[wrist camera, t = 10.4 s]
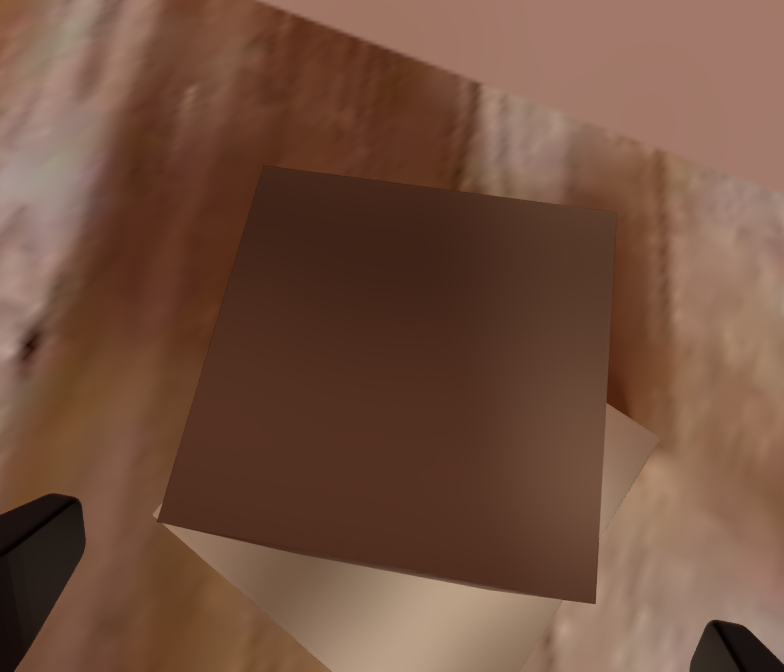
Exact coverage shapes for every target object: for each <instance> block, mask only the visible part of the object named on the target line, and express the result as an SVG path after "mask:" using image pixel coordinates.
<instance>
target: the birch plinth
mask: <svg viewBox="0 0 784 672" xmlns="http://www.w3.org/2000/svg"><path fill="white" fill-rule="evenodd" d="M659 440H660V438H659V437H658V436H656V435H655V434H653V433H652V432H650V431H649V430H647V429H646V428H644V427H642V426H641V425H639V424H638V423H636V422H635V421H633V420H632V419H630V418H629V417H627V416H626V415H624V414H623V413H621V412H620V411H618V410H616V409H615V408H613V407H612V406H610V405H609V404H607V403H606V421H605V440H604V458H603V476H602V494H601V513H600V531H599V540H600V538H601V536H602V535H603V533H604V531H605V530H606V528H607V526H608V525H609V523H610V521H611V520H612V518H613V516H614V515H615V513H616V511H617V510H618V508H619V506H620V505H621V503H622V502H623V500H624V498H625V497H626V495H627V493H628V492H629V490H630V488H631V487H632V485H633V483H634V482H635V480H636V478H637V477H638V475H639V473H640V472H641V470H642V468H643V467H644V465H645V463H646V462H647V460H648V458H649V457H650V455H651V453H652V452H653V450H654V448H655V447H656V445H657V443H658V442H659ZM162 503H163V502H162ZM162 503H161V505H160V506H159V507H158V508H157V509H156V511H155V512H154V513H153V514H152V515H153V516H154V517H155V518H156V519H158V516H159V513H160V509H161V506H162ZM162 524H163V525H164V526H166V527H167V528H168V529H169V530H170V531H171V532H172V533H174V534H175V535H176V536H177V537H178V538H179V539H180V540H182V541H183V542H184V543H185V544H186V545H187V546H188V547H190V548H191V549H192V550H193V551H194V552H195V553H196V554H198V555H199V556H200V557H201V558H202V559H203V560H205V561H206V562H207V563H208V564H209V565H210V566H211V567H213V568H214V569H215V570H216V571H217V572H218V573H219V574H221V575H222V576H223V577H224V578H225V579H226V580H227V581H229V582H230V583H231V584H232V585H233V586H234V587H235V588H237V589H238V590H239V591H240V592H241V593H242V594H243V595H245V596H246V597H247V598H248V599H249V600H250V601H252V602H253V603H254V604H255V605H256V606H257V607H258V608H260V609H261V610H262V611H263V612H264V613H265V614H266V615H268V616H269V617H270V618H271V619H272V620H273V621H274V622H276V623H277V624H278V625H279V626H280V627H281V628H282V629H284V630H285V631H286V632H287V633H288V634H289V635H291V636H292V637H293V638H294V639H295V640H296V641H297V642H299V643H300V644H301V645H302V646H303V647H304V648H305V649H307V650H308V651H309V652H310V653H311V654H312V655H313V656H315V657H316V658H317V659H318V660H319V661H320V662H321V663H323V664H324V665H325V666H326V667H327V668H328V669H330V670H331V671H332V672H520V671H521V669H522V667H523V666H524V664H525V662H526V661H527V659H528V657H529V656H530V654H531V652H532V651H533V649H534V647H535V646H536V644H537V642H538V641H539V639H540V637H541V636H542V634H543V632H544V631H545V629H546V628H547V626H548V624H549V623H550V621H551V619H552V618H553V616H554V614H555V613H556V611H557V609H558V608H559V606H560V604H561V603H562V601H563V600H560V599H553V598H545V597H538V596H530V595H522V594H515V593H507V592H499V591H492V590H485V589H480V588H475V587H469V586H464V585H459V584H454V583H448V582H443V581H438V580H432V579H427V578H422V577H416V576H411V575H406V574H400V573H395V572H390V571H384V570H379V569H374V568H369V567H363V566H358V565H353V564H347V563H342V562H337V561H331V560H326V559H321V558H315V557H310V556H305V555H299V554H295V553H291V552H286V551H282V550H278V549H273V548H269V547H264V546H260V545H256V544H251V543H247V542H243V541H238V540H234V539H229V538H225V537H221V536H216V535H212V534H208V533H203V532H199V531H194V530H190V529H186V528H181V527H177V526H172V525H168V524H164V523H162Z"/></svg>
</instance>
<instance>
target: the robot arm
mask: <svg viewBox="0 0 784 672" xmlns="http://www.w3.org/2000/svg"><path fill="white" fill-rule="evenodd" d="M85 543H86V538H85V529H84V521H83V512H82V505H81V502H80V501H79V499H77V498H76V497H72V496H67V495H61V494H56V493H52V494H48V495H45V496H42V497H40V498H38V499H36V500H33V501H31V502H29V503H26V504H24V505H22V506H20V507H17V508H15V509H13V510H10V511H8V512H6V513H4V514H1V515H0V672H14V671H15V669H16V668H17V666H18V665H19V663H20V662H21V660H22V659H23V657H24V656H25V654H26V653H27V651H28V650H29V648H30V646H31V645H32V643H33V641H34V640H35V638H36V636H37V635H38V633H39V631H40V629H41V628H42V626H43V624H44V622H45V621H46V619H47V617H48V615H49V614H50V612H51V610H52V608H53V607H54V605H55V603H56V601H57V600H58V598H59V596H60V594H61V593H62V591H63V589H64V587H65V586H66V584H67V582H68V580H69V579H70V577H71V575H72V573H73V572H74V570H75V568H76V566H77V565H78V563H79V561H80V559H81V557H82V555H83V552H84V549H85ZM690 672H784V664H783V663H782V662H781V661H780V660H779V659H778V658H777V657H776V656H775V655H774V654H773V653H772V652H771V651H770V650H769V649H768V648H767V647H766V646H765V645H764V644H763V643H762V642H761V641H760V640H759V639H758V638H757V637H756V636H755V635H754V634H753V633H752V632H751V631H749V630H748V629H747V628H746V627H744V626H743V625H740V624H736V623H731V622H726V621H720V620H712V621H710V622H709V623H708V624H707V625H706V627H705V629H704V632H703V634H702V636H701V639H700V641H699V643H698V646H697V648H696V650H695V653H694V655H693V657H692V660H691V664H690Z"/></svg>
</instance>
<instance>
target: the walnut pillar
mask: <svg viewBox="0 0 784 672" xmlns="http://www.w3.org/2000/svg"><path fill="white" fill-rule="evenodd" d="M616 221H617V212H610V211H603V210H595V209H588V208H580V207H573V206H565V205H558V204H550V203H543V202H535V201H528V200H520V199H512V198H505V197H497V196H490V195H482V194H475V193H467V192H460V191H452V190H445V189H437V188H430V187H422V186H414V185H407V184H399V183H392V182H384V181H377V180H369V179H362V178H354V177H347V176H339V175H332V174H324V173H316V172H309V171H301V170H294V169H286V168H279V167H271V166H264V165H263V168H262V172H261V175H260V178H259V182H258V185H257V188H256V192H255V195H254V198H253V202H252V205H251V209H250V212H249V215H248V219H247V222H246V225H245V229H244V232H243V235H242V239H241V242H240V245H239V249H238V252H237V255H236V259H235V262H234V265H233V269H232V272H231V275H230V279H229V282H228V285H227V289H226V292H225V295H224V299H223V302H222V305H221V309H220V312H219V316H218V319H217V322H216V326H215V329H214V332H213V336H212V339H211V342H210V346H209V349H208V352H207V356H206V359H205V362H204V366H203V369H202V372H201V376H200V379H199V382H198V386H197V389H196V392H195V396H194V399H193V402H192V406H191V409H190V412H189V416H188V419H187V423H186V426H185V429H184V433H183V436H182V439H181V443H180V446H179V449H178V453H177V456H176V459H175V463H174V466H173V469H172V473H171V476H170V479H169V483H168V486H167V489H166V493H165V496H164V499H163V503H162V506H161V509H160V513H159V516H158V519H157V522H159V523H164V524H168V525H172V526H177V527H181V528H186V529H190V530H194V531H199V532H203V533H208V534H212V535H216V536H221V537H225V538H229V539H234V540H238V541H243V542H247V543H251V544H256V545H260V546H264V547H269V548H273V549H278V550H282V551H286V552H291V553H295V554H299V555H305V556H310V557H315V558H321V559H326V560H331V561H337V562H342V563H347V564H353V565H358V566H363V567H369V568H374V569H379V570H384V571H390V572H395V573H400V574H406V575H411V576H416V577H422V578H427V579H432V580H438V581H443V582H448V583H454V584H459V585H464V586H469V587H475V588H480V589H485V590H492V591H499V592H507V593H515V594H522V595H530V596H538V597H545V598H553V599H560V600H568V601H576V602H583V603H591V604H596V585H597V567H598V549H599V531H600V513H601V494H602V476H603V458H604V440H605V421H606V403H607V385H608V367H609V349H610V330H611V312H612V294H613V276H614V257H615V239H616Z"/></svg>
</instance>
